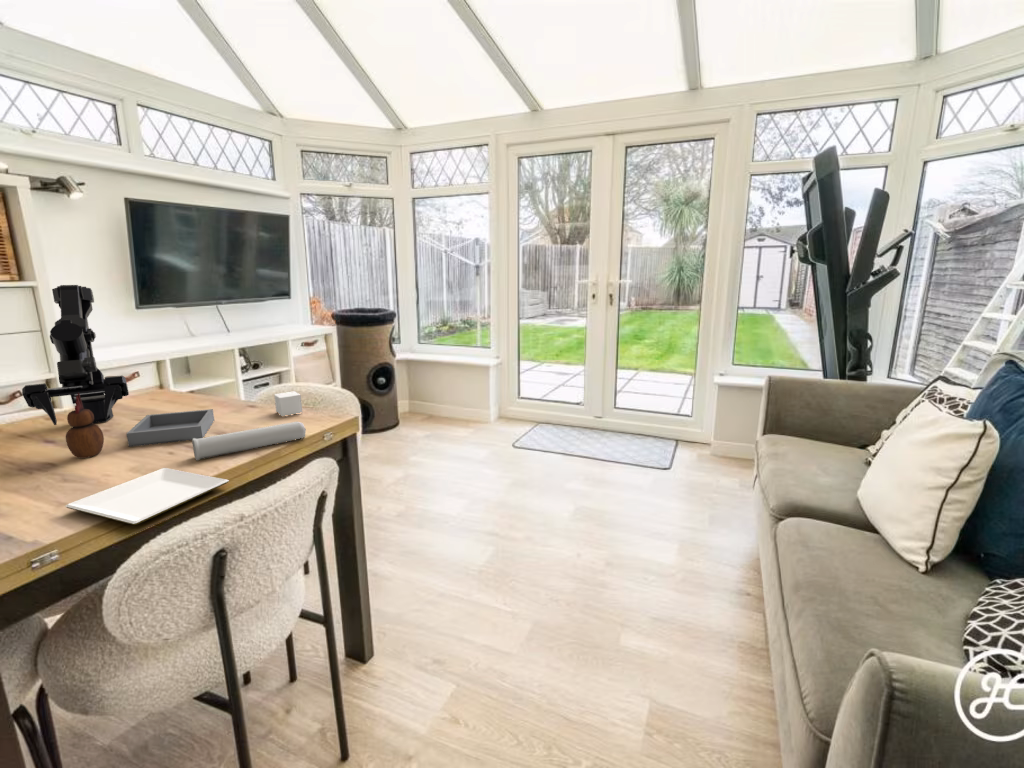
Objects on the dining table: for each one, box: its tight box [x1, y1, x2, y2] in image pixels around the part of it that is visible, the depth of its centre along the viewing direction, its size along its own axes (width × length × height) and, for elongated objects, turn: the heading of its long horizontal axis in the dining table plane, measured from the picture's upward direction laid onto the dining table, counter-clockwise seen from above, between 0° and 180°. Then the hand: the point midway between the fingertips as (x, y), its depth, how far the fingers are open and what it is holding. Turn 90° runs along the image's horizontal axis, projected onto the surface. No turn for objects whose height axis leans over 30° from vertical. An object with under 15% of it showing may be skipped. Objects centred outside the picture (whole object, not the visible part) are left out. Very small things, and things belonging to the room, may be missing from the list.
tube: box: [191, 421, 307, 461], centre depth 124 cm, size 5×5×25 cm
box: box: [125, 408, 215, 448], centre depth 135 cm, size 16×17×4 cm
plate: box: [65, 467, 230, 526], centre depth 96 cm, size 19×19×2 cm
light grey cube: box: [273, 390, 303, 417], centre depth 152 cm, size 6×6×6 cm
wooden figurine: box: [65, 393, 105, 459], centre depth 117 cm, size 7×6×15 cm
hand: (81, 420), depth 117 cm, fingers open, 9 cm apart
